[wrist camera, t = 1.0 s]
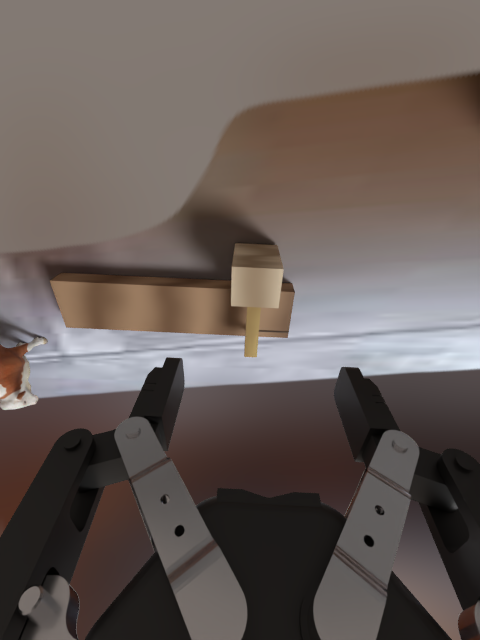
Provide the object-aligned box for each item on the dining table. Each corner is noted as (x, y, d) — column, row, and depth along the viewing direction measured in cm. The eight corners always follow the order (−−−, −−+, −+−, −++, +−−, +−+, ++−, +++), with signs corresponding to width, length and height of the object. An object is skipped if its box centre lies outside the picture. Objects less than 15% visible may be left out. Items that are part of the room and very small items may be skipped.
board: (292, 283, 29) (294, 292, 27) (285, 327, 32) (287, 338, 30) (61, 272, 29) (49, 281, 27) (76, 317, 32) (65, 327, 30)
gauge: (277, 244, 27) (283, 269, 22) (267, 329, 32) (271, 364, 27) (235, 243, 27) (231, 266, 22) (232, 327, 32) (229, 362, 27)
